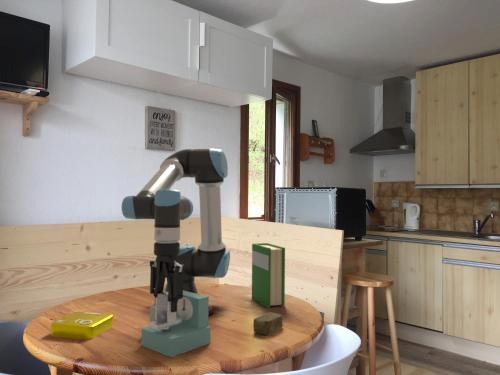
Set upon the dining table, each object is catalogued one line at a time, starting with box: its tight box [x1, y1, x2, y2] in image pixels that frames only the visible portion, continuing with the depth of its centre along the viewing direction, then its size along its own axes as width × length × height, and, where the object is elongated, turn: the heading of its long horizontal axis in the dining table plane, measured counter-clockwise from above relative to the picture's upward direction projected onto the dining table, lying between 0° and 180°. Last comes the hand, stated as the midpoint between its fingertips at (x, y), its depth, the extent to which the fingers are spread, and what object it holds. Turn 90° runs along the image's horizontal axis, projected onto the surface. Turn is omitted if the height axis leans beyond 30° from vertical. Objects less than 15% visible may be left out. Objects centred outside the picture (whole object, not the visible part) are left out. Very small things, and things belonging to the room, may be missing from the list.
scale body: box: [141, 291, 211, 358], centre depth 125 cm, size 15×14×14 cm
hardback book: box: [251, 242, 286, 309], centre depth 177 cm, size 18×7×24 cm, turn 22°
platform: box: [148, 317, 182, 332], centre depth 122 cm, size 9×4×3 cm, turn 140°
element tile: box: [50, 311, 114, 340], centre depth 137 cm, size 15×15×5 cm
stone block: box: [252, 311, 284, 336], centre depth 140 cm, size 6×12×5 cm, turn 148°
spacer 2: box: [157, 290, 174, 323], centre depth 122 cm, size 5×5×8 cm
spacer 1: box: [149, 304, 157, 322], centre depth 137 cm, size 5×5×8 cm
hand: (165, 320), depth 122 cm, fingers closed on spacer 2, 5 cm apart
